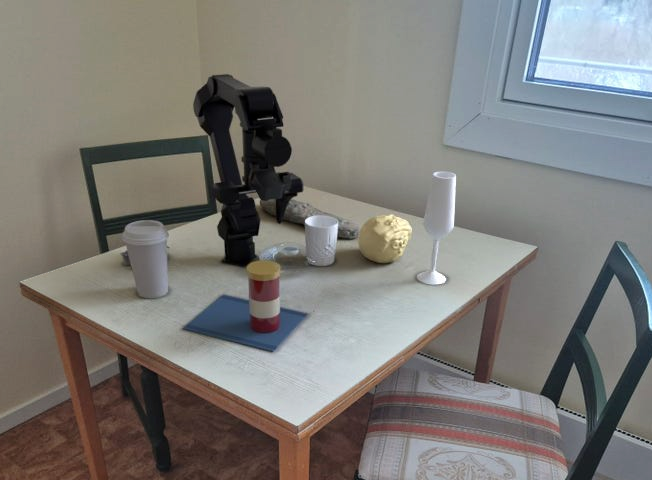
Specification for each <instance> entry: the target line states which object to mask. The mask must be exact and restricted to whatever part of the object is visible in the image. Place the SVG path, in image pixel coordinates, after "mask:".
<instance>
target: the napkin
mask: <svg viewBox="0 0 652 480" xmlns="http://www.w3.org/2000/svg"><path fill="white" fill-rule="evenodd" d="M307 316H308V313H307V312H304V311H299V310H294V309H290V308H286V307H281V306H280V328H279V329H278V330H276V331H275V332H272V333H258V332H255V331H253V330H252V329H251V328H250V312H249V299H245V298H241V297H236V296H233V295H227V294H222V295H221V296H219V298H218V299H216V300H215V301H214V302H213V303H212V304H210V305H208V306H207V308H205V309H204V310H203V311H202V312H201V313H199V314H198V315H197V316H196V317H194V318H193V319H192V320H190V322H188V323H187V324H186V325H184V326H183V328H182V329H183V330H185V331H189V332H193V333H195V334H196V333H197V334H201V335H204V336H208V337H213V338H216V339H220V340H224V341H228V342H232V343H235V344H236V343H237V344H239V345H240V344H241V345H244V346H245V345H246V346H249V347H253V348H256V349H260V350H263V351H268V352H271V353H273V352H275V351H276V349H278V348H279V346H280V345H281V344H282V343H283V342H284V341H285V340H286V338H287V337H288V336H290V334H292V332H293V331H294V330H295V329H296V328H297V327H298V326H299V324H300V323H301V322H302V321H303V320H304V319H305V318H306V317H307Z"/></svg>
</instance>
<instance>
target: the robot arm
mask: <svg viewBox="0 0 652 480" xmlns="http://www.w3.org/2000/svg"><path fill="white" fill-rule="evenodd" d="M277 99H278V98H277V96H276V94H275V93H274V91H273V89H272V88H271V87H270V86H250V85H248V84H246V83H245V82H243V81H240V80H239V79H237V78H234V76H233V75H232V74H229V73H224V74H212V75H211V76H208V78H207V81H206V83H205V84H204V85H203V86H202V87H201V88H199V89H198V90H197V91H196V93H195V96H194V99H193V102H192V108H193V113H194V116H195V117H196V118H197V121H198V124H199V127H200V128H201V129H202V130H203V131H204V133H206V135H207V136H208V137H209V140H210V143H211V147H212V152H213V156H214V160H215V164H216V167H217V172H218V177H219V180H220V182H214V184H212V187H211V196H212V197H213V198H214V199H215V200H216V201H217V202H218V203H219V204H222V207H221V209H220V214H221V217H220V219H219V221H218V224H217V226H216V229H217V235H218V237H220V239H222V240H223V247H224V257H223V258H222V259H221V262H222V263H224V264H230V265H233V266H235V265H236V266H239V267H247V266H248V265H249V264H250V263H252V262H254V260H255V259H256V258H257V257H258V256H257V254H256V243H255V241H254V237H258V236H259V233H260V226H261V216H260V213H259V212H258V210H257V206H256V201H255V199H254V198H253V197H252V196H251V197H250V196H248V195H249V194H254V193H256V194H257V195H258V198H259V200H262V201H268V200H270V199H275V200H276V216H275V218H276V223H277V224H278V225H281V224H282V221H283V219H282V218H283V215H284V213H285V210H286V207H287V205H288V203H289V201H290V200H293V199H294V198H295V197H298V195H299V194H300V193H304V181H303V179H302V178H301V177H299V176H298V175H296V174H295V173H293V172H290V171H282V172H280V171H279V172H277V171H276V169H275V168H280V167H282V166H284V165H287V163H288V162H289V160H290V159H291V157H292V154H293V153H292V152H293V148H292V146H291V143H290V141H289V140H288V138H286V137H285V136H283V129H282V128H283V127H284V120H283V119H284V115H283V112H282V109H281V107H280V104H279V102H278V100H277ZM234 113H235V114H236V116H237V118H238V120H239V127H241V128H242V129H241V133H242V136H241V137H242V156H241V159H240V160H241V162H242V163H243V175H242V176H241V172H240V169H239V165H238V160H237V157H236V152H235V148H234V145H233V140H232V135H231V131H230V129H231V125H232V122H233V119H234ZM281 127H282V128H281Z"/></svg>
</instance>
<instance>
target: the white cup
mask: <svg viewBox="0 0 652 480" xmlns="http://www.w3.org/2000/svg"><path fill="white" fill-rule="evenodd" d="M337 232H338V220H337V219H335V218H333V217H330V216H322V215H319V216H312V217H309V218H307V219H306V220H305V225H304V235H305V236H304V239H305V249H306V250H305V251H306V253H305V254H306V255H307V257H308V258H309V259H311V260H312V261H315V262H312V261H310V260H308V259H307V257H306V262H307V263H308V264H310V265H311V266H317V267H325V266H330V265H332V264H334V263H335V258H336V250H337V243H338V241H337V240H338V236H337Z"/></svg>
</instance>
